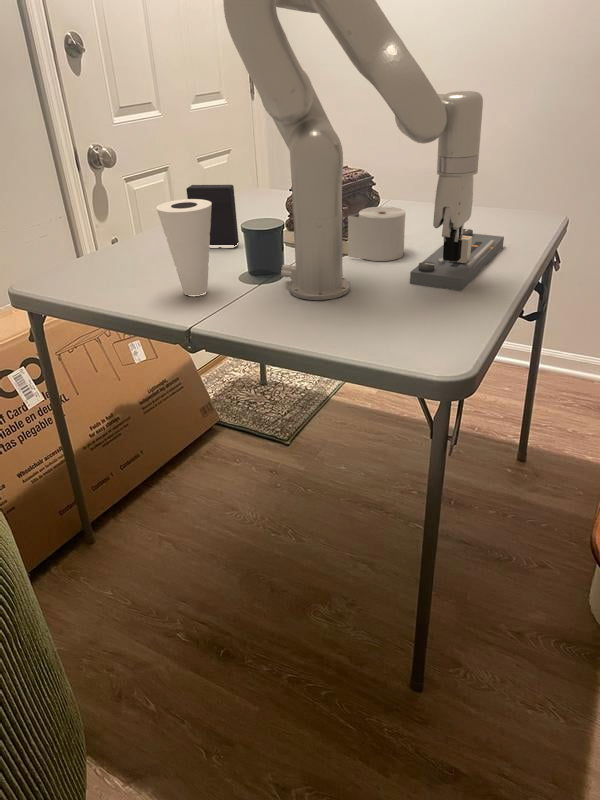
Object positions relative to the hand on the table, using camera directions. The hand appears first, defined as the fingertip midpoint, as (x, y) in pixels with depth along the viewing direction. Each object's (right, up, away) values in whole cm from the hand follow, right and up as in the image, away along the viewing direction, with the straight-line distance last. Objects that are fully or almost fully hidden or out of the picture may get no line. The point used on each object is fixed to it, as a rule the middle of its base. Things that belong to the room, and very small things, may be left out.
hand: (451, 259), depth 126 cm
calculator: (-52, +10, +33) cm, 62 cm away
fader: (+3, +1, +6) cm, 7 cm away
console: (+5, +2, +13) cm, 14 cm away
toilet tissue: (-12, +5, +21) cm, 25 cm away
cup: (-53, -6, +4) cm, 53 cm away
